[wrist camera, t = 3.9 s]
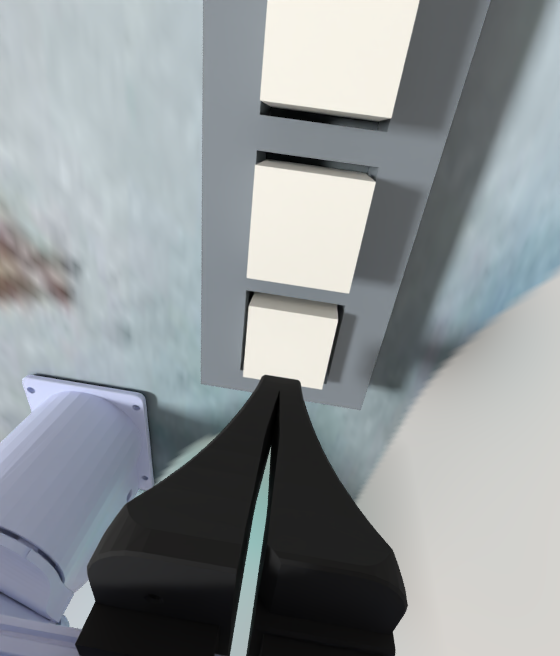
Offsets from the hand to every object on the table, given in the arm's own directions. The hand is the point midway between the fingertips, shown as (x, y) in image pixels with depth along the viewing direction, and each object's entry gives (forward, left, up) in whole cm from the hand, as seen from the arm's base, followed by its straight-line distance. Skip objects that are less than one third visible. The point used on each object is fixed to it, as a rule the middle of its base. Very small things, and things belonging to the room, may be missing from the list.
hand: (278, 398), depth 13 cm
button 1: (0, 0, -6) cm, 6 cm away
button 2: (+11, 0, -5) cm, 12 cm away
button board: (+6, 0, -7) cm, 9 cm away
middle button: (+5, 0, -5) cm, 7 cm away
